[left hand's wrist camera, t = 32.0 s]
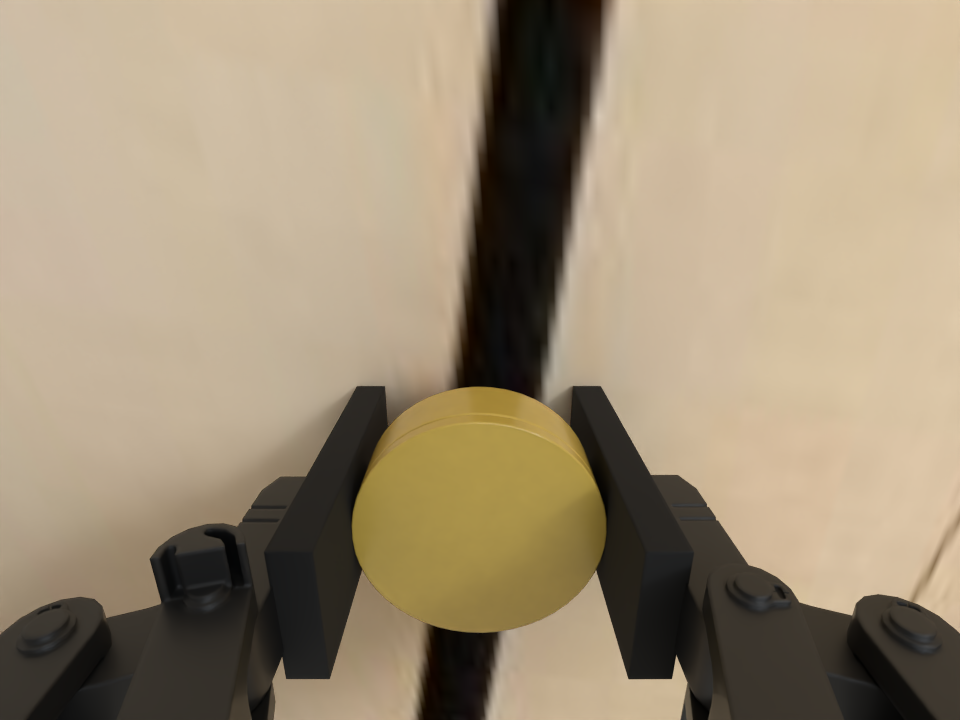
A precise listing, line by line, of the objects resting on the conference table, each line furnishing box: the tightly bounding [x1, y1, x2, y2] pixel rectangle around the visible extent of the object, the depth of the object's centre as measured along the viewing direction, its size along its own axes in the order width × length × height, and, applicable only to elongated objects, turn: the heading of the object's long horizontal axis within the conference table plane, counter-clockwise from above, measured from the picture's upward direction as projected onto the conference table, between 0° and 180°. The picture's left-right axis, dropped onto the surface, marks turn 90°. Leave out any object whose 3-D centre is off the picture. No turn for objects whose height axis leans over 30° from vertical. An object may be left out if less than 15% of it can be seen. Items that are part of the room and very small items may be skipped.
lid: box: [351, 387, 607, 633], centre depth 11 cm, size 5×5×2 cm
